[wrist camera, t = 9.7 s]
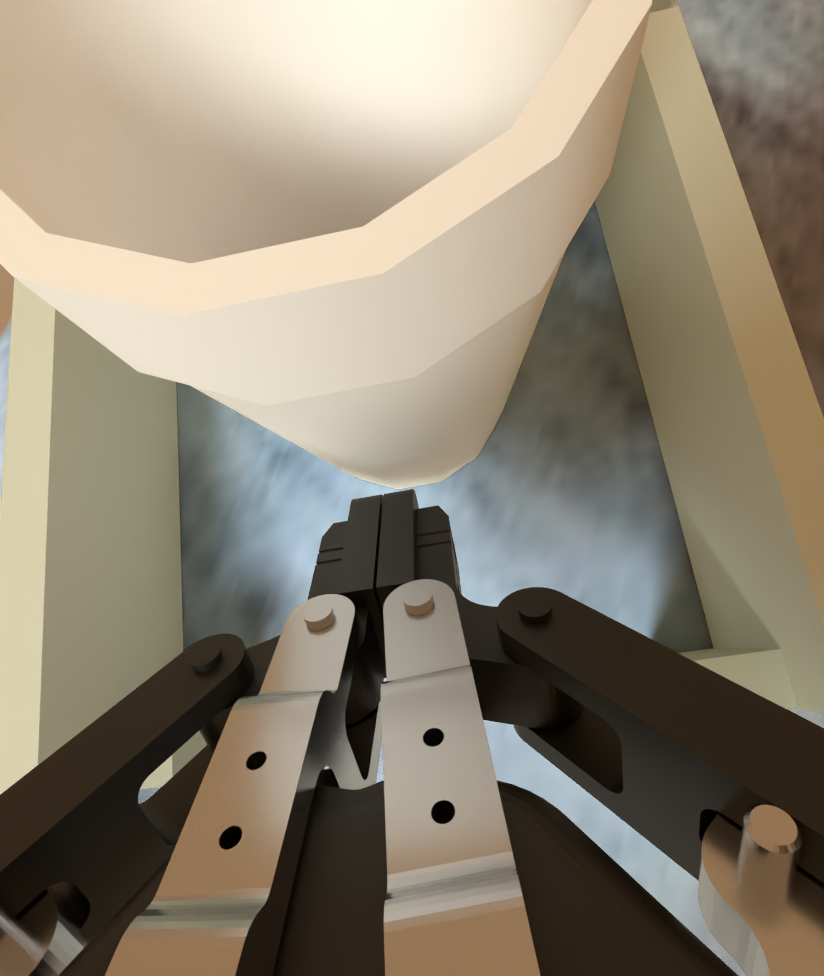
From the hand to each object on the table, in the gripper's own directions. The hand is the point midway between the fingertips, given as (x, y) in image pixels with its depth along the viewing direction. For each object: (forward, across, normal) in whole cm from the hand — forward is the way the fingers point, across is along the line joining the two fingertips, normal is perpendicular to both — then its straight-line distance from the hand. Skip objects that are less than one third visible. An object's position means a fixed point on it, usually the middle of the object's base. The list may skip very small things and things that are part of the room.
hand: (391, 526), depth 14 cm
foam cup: (+7, 0, -1) cm, 7 cm away
